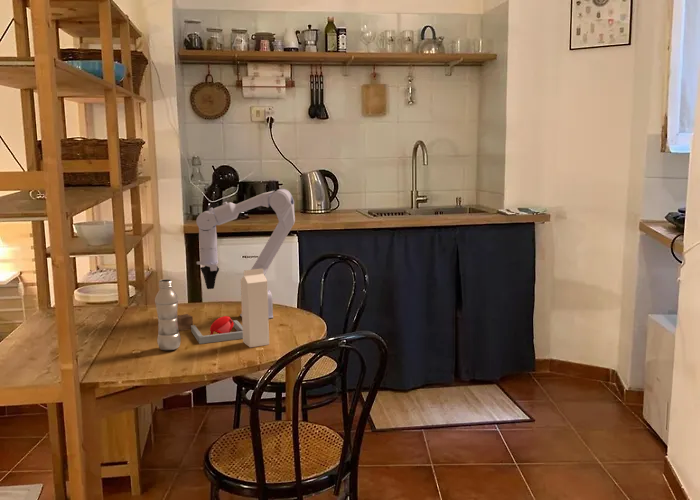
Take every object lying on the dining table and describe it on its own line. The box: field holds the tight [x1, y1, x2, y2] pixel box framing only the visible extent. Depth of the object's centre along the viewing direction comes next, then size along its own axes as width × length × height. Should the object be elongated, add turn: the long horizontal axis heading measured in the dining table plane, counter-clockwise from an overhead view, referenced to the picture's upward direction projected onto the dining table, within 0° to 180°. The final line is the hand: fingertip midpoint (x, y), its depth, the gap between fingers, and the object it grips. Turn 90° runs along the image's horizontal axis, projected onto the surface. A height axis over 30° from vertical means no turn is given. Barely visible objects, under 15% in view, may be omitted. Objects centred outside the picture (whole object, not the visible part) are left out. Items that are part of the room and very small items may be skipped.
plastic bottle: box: [154, 278, 181, 351], centre depth 194 cm, size 6×7×20 cm
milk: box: [240, 269, 270, 348], centre depth 199 cm, size 6×6×22 cm
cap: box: [209, 315, 234, 335], centre depth 208 cm, size 8×6×6 cm
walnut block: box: [177, 313, 194, 332], centre depth 217 cm, size 4×4×4 cm
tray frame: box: [190, 319, 243, 345], centre depth 209 cm, size 14×14×2 cm
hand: (210, 288), depth 228 cm, fingers closed
